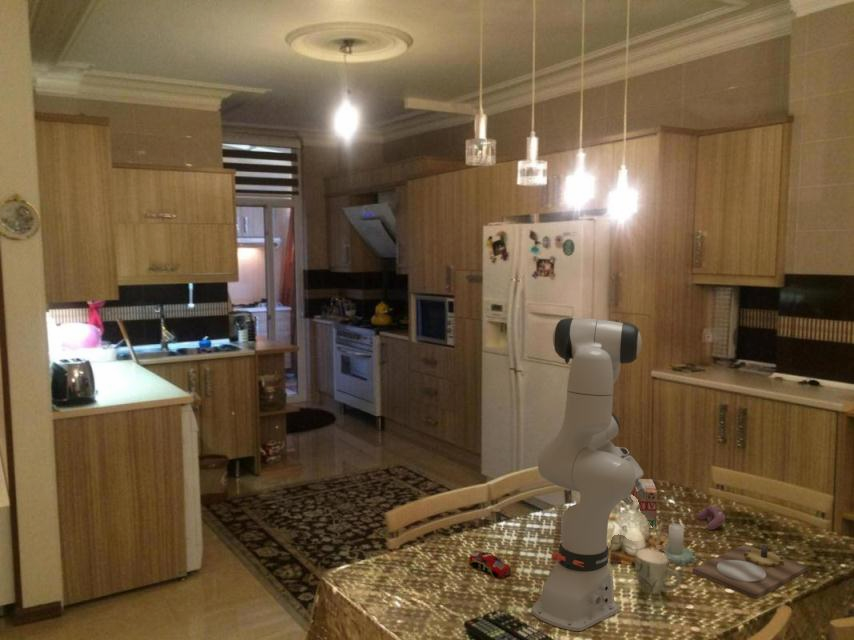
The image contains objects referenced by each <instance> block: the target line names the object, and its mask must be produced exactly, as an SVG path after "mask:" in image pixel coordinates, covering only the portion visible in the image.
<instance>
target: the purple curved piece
mask: <svg viewBox="0 0 854 640" xmlns="http://www.w3.org/2000/svg"><path fill="white" fill-rule="evenodd" d="M696 519H697V520H698V521H702V520H703V521H704V520H705V519H707V522H708V523H707V525H706V529H707V530H708V531H712V530H716V529H718V528H719V527H720V526H721V525H723V524H724V522H725V521H726V515H725V514H724V512H723V510H722V509H721V508H720V507H718V506H717V505H712V504H709V505H707V506H706V507H705V508H703V510H701V511H700V512H698V514H697V515H696Z"/></svg>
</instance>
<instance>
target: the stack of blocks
mask: <svg viewBox="0 0 854 640" xmlns="http://www.w3.org/2000/svg"><path fill="white" fill-rule="evenodd" d="M640 480H641V481H642V484H643V488H644V489H645V490H646V491H647V493H646V494H644V495H643V496H640V494H639V493H638V489H637V487H636V486H634V489H633V491H632V492H631V494H632V495H633V496H635V497H636V498H637V499H638V502H639V508H640V511H641V512H642V514H643V515H645V516H646V517H647V519H648V521H649V523H650V525H651V526H652V527H653V526H655V527H656V528H657V511H658V510H657V509H658V508H657V507H658V503H657V502H658V491H657V488H656V485H655V483H654V481H653V479H651V478H640ZM631 494H630V495H631Z"/></svg>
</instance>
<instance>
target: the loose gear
mask: <svg viewBox="0 0 854 640" xmlns="http://www.w3.org/2000/svg"><path fill="white" fill-rule="evenodd" d="M684 531H685V529H684V526H683V525H681V524H678V523H670V524H669V525H668V538H667V539H668V540H667V542H668V543H666V544H665V546H666V545H667V546H666V549H663V550H662V551H664V552H665V553H666V555H667V557H668V560H669V562H671V563H670V564H674V565H681V566H682V567H683V566H684V567H685V566H686V564H689V563H693V564H695V563H696V551H695V550H690V549H688V548H686V547H685V545H684V536H685V534H684Z"/></svg>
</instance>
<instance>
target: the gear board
mask: <svg viewBox="0 0 854 640" xmlns="http://www.w3.org/2000/svg"><path fill="white" fill-rule="evenodd" d="M768 548H769V546H768V545H767V544H766V545H765V544H761V545H760V548H757V547H754V546H750V545H748V544H743V545H741V546H738V547H735V548H734V549H732V550H730V551H728V552H725V553H723V554H720V555H719V556H717V557H714V558H712V559H710V560H708V561H706V562H703V563H701V564H699V565H697V566H695V567H692V571H691V572H692V574H694V575H696V576H698V577H699V576H700V577H702V578H704V579H707V580H708V581H711V582H713V581H714V583H716V582H717V584H718V583H719V585H721V584H722V585H721V586H723V585H724V586H723V587H726V588H728V587H729V588H728V589H730V588H731V590H734V591H735V592H737V593H740V594H743V595H745V594H746V595H745V596H747V597H750V598H753V599H755V600H757V599H759V598H761V597H763V596H765V595H767V594H768V593H770V592H772V591H774V590H776V589H777V588H779V587H781V586H784V585H785V584H786V583H788V582H790V581H792V580H793V579H795V578H797V577H799V576H801V575H803V574H804V573H806V572H807V571H808V569H809V567H808V566H807V565H806V564H802V563H799V562H796V561H794V560H791V559H788V558H786V557H784V556H782V555H778V554H776V552H775V551H772V550H771V551H769V550H768Z"/></svg>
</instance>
